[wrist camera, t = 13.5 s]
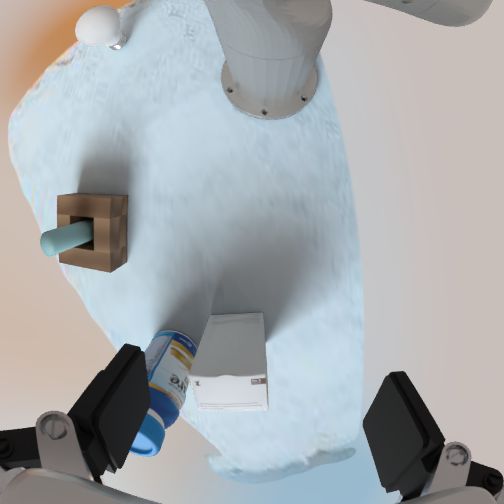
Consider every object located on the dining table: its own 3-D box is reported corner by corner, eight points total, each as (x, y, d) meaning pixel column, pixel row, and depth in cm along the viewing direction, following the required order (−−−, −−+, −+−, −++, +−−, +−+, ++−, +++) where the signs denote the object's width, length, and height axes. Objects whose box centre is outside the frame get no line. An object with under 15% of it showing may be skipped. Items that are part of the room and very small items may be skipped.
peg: (92, 216, 37) (39, 230, 25) (107, 217, 36) (55, 233, 25) (91, 235, 37) (41, 254, 26) (106, 237, 37) (56, 258, 26)
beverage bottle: (153, 321, 41) (92, 406, 21) (203, 336, 41) (166, 435, 21) (150, 361, 43) (103, 445, 23) (197, 374, 43) (166, 468, 23)
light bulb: (105, 68, 31) (66, 45, 20) (102, 40, 29) (67, 15, 18) (141, 49, 30) (108, 18, 19) (136, 22, 28) (106, -10, 18)
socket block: (76, 192, 36) (57, 195, 31) (128, 195, 36) (110, 198, 31) (77, 253, 38) (59, 262, 34) (126, 262, 38) (110, 272, 33)
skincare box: (214, 345, 41) (194, 413, 27) (209, 311, 40) (183, 375, 25) (268, 343, 41) (269, 414, 26) (266, 309, 39) (266, 375, 25)
